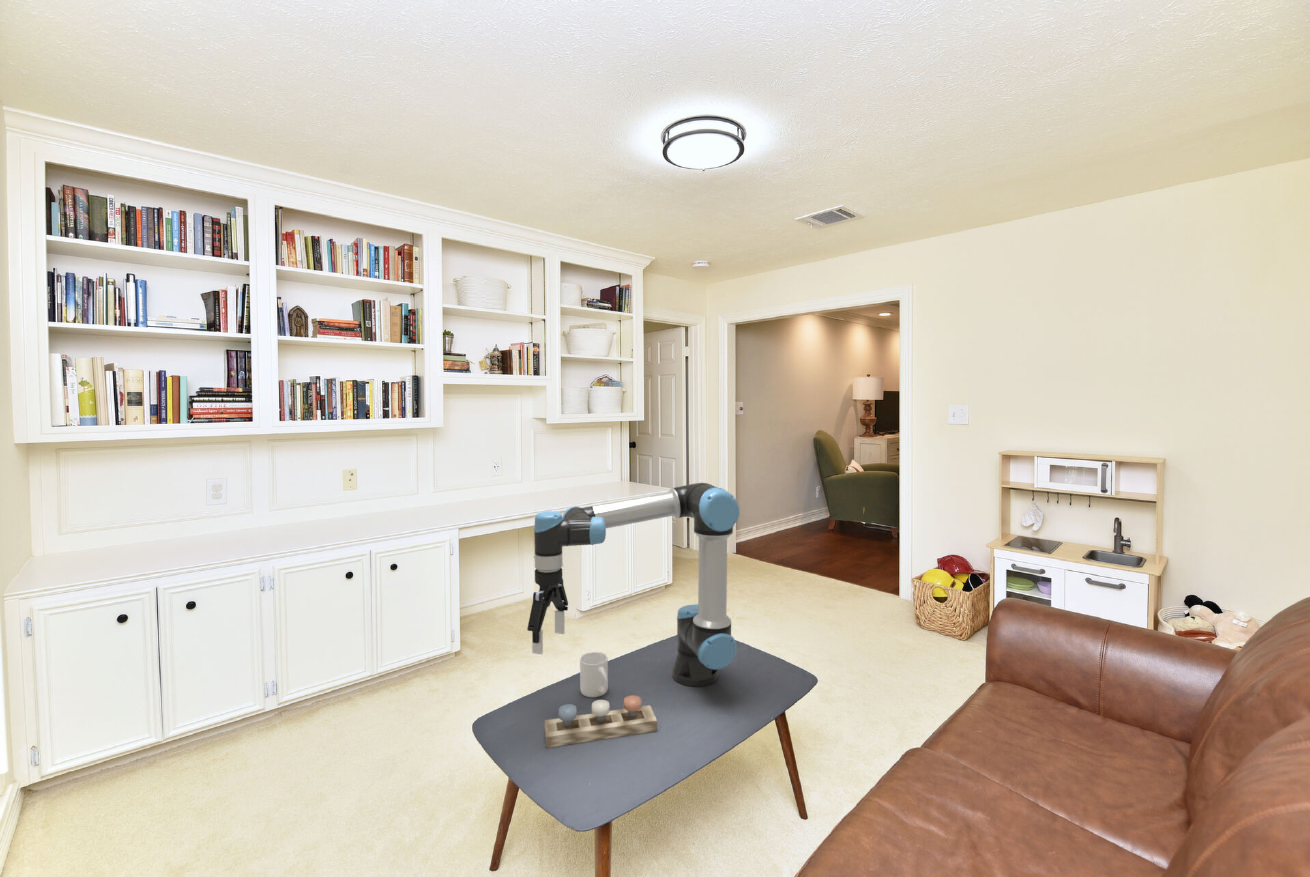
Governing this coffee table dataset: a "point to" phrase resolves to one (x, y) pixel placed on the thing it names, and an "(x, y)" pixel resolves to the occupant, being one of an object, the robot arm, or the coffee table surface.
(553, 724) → the three-ball wooden rack
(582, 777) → the coffee table surface
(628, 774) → the coffee table surface
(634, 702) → the terracotta ball
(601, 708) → the cream rounded piece
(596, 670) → the mug
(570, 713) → the slate ball
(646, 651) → the coffee table surface
